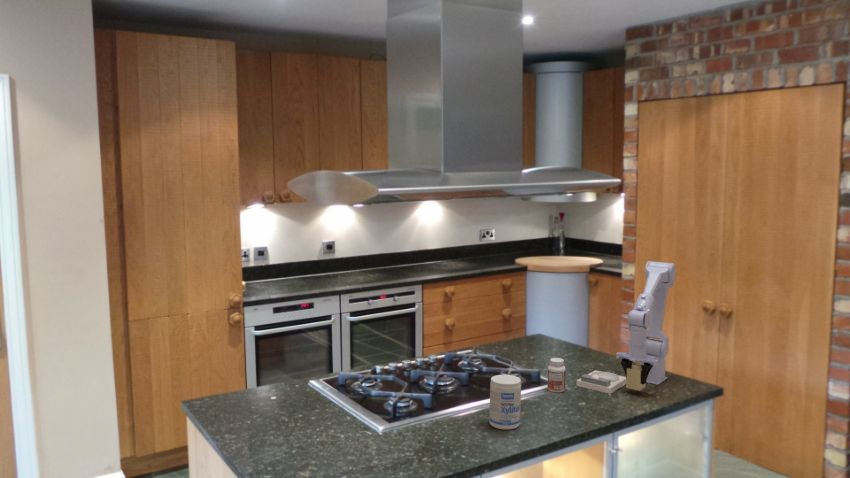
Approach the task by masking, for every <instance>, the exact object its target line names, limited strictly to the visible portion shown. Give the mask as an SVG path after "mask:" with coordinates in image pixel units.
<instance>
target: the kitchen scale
mask: <svg viewBox="0 0 850 478" xmlns="http://www.w3.org/2000/svg"><path fill="white" fill-rule="evenodd" d="M580 376H581V377H580V378H578V379H577V380H576V387H580V388H584V389H589V390H593V391H595V392H597V391H598V392H601V393H604V394H608V395H610V394H613V393H614V392H616V391H617V390H619V389H620V388H623V386H626V376H623V375H618V374H616V373H613V372H609V371H601V370H596V369H595V370H593V371H592V372H589V373H585V374H583V375H580Z"/></svg>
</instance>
